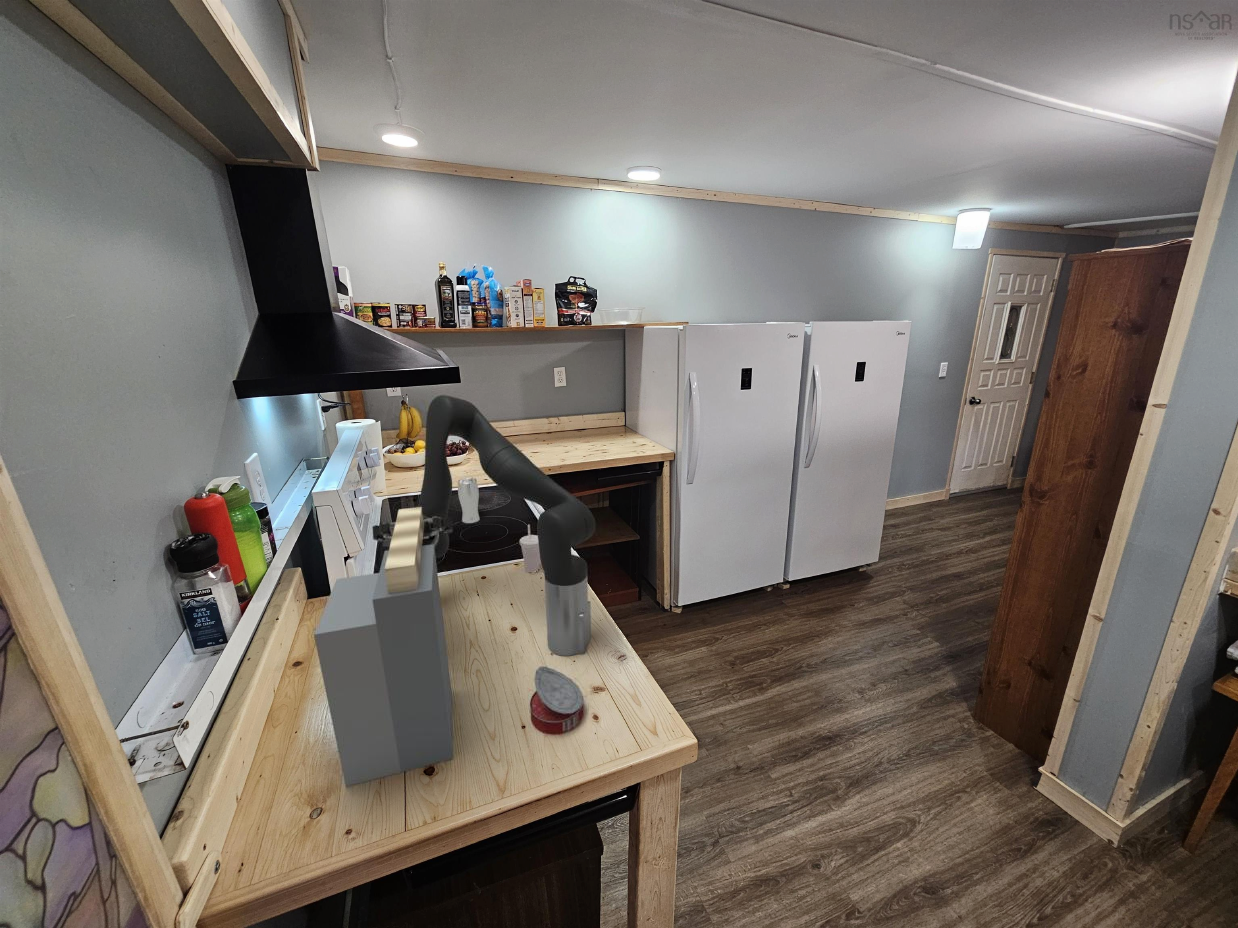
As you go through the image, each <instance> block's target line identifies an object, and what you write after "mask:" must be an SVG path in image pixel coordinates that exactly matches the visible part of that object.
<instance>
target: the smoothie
mask: <svg viewBox="0 0 1238 928" xmlns="http://www.w3.org/2000/svg"><path fill="white" fill-rule="evenodd" d="M527 534H528V535H524V536H523V537H521V538H520V539H519V545H520V546H521V547H520V548H521V552H522V556H523V557H522V558H523V562H524V566H525V567H524V568H525V571H526V572H527V573H528V572H535V571H537V570H538V569H539V570H540V564H541V561H540V552H539V543H538V534H537V535H535V534H531V525H530V524H528V525H527ZM537 572H538V571H537ZM535 573H536V572H535Z"/></svg>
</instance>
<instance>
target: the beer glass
mask: <svg viewBox="0 0 1238 928" xmlns="http://www.w3.org/2000/svg"><path fill="white" fill-rule="evenodd" d="M479 493H480V492H479V484H478V479H477V478H476V477H475V478H474V477H464V478H460V479H459V480H457V494H458V499H459V502H460V503H459V504H460V507H461V510H462V517H461V518H462V519H461V521H462V522H463V523H464V524H473V523H477V522H479V521H480V515H479V508H478V507H479V497H480V496H479Z"/></svg>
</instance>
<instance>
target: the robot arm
mask: <svg viewBox="0 0 1238 928" xmlns="http://www.w3.org/2000/svg"><path fill="white" fill-rule="evenodd" d="M425 419H426V421H425V422H426V424H425V443H424V445H425V446H424V470H423V472H424V473H423V480H422V484H421V490H420V494H419V495H420V496H419V501H418V505H417V507H422V514H423V522H424V531H423V541H422V546H426V545H433V544H434V548H435V557H436V559H437V558H438V559H440V558H442V557H444V556H445V554H446V553H447V552H448V549H449V546H450V537H449V534H451V533H453V529H454V528H453V522H452V521H453V520H452V519H453V518H452V516H448V514H449V507H450V503H451V498H452V493H453V478H452V473H451V469H450V467H449V463H448V458H447V457H448V456H447V445H448V444H447V443H448V440H449V437H450V436H454V437H457V438H461V439H462V440H464V441H466V443H468V444H469V445H470V446H471V447H472V448H474V449H475V451H476V452H477V454H478V459H479V463H480V466H481V469H482V470H483V472H484V474H485V475H487V477H488V478H489V479H490V480H491V481H492V482H493V483H494V484H495V485H496V486H497V487H498V488H499V489H501V490H502V491H503V492H505V493H507V494H510V495H513V496H515V497H518V498H521V499H524V500H527V501H529V502H532V503H535V504H537V505H538V506H540V507H542V508H544V509H545V510H543V511H542V513H540V515H539V517H538V519H537V523H536V525H537V526H536V530H537V531H536V532H537V536H538V543H539V552H540V565H541V566H542V570H543V575H544V594H545V595H544V596H545V612H546V613H545V615H546V617H545V618H546V634H547V635H546V636H547V637H546V638H547V647H548V650H550V651H551V652H552V653H553V654H556V655H559V656H564V657H567V656H574V655H578V654H582V655H583V654H586V651H587V648H588V646H589V643H590V641H591V638H592V614H591V613H592V612H591V610H592V609H591V607H592V604H591V600H590V601H589V600H588V599H589V598H588V597H589V596H588V595H589V593H588V590H589V589H588V588H589V587H588V564H587V561H586V560H585V559H584V558H583V557H581V556H578V555H576V554H572V548H574V547H575V546H577V545H579V544H581V543H583V542H585V541H588V540H589V539H590V538H591V537H592V536H593V535H594V534H595V533H596V532H595V531H596V520H595V517H594V515H593V513H592V511H591V510H590V509H589V508H588V507H587V506H586V504H584V502H582V501H581V500H580V499H578V498H577V497H576V496H575V495H573V494H571V492H569V491H568V490H566V489H565V488H564V487H562V486H561V485H559V484H558V483H557V482H555V481H554V480H553V479H552V478H551V477H550V476H548V475H547V474H546V473H545V472H544V471H542V470H541V469H540V468H539V467H538V466H537V465H535V463H534V462H533V461H532V460H531V459H529V458H528V456H527V455H525V454H524V453H523V452H522V451H521V450H520V449H519V448H518V447H517V446H515V444H513V443H512V442H511V441H510V440H508V439H507V438H506V437H505V436H504V435H503V434H502V433H501V432H500V431H498V430H497V429H496V428H495V427H493V425H492V424H491V423H490V421H488V419H487V418H486V417H485V416H484V415H483V414H482V412H481V411H480V410H479V409H478V407H476V405H474V404H473V403H472V402H470V401H468V400H465V399H462V398H458V397H456V396H455V397H454V396H451V395H447V394H440V395H437V396H436V397H434V398H433V399H432V400H431V402H430V403H429V406H428V409H427V413H426V418H425ZM395 523H396V521H395V522H394V521H393V522H391V523H389V522H388V521H383V522H382V523H381V524H378V525H377V524H376V525H372V540H375V541H377V542H379V543H380V542H381V543H384V542H386V541H388V539H391V540H392V536H393V532H394V528H395Z"/></svg>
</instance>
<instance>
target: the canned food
mask: <svg viewBox="0 0 1238 928" xmlns="http://www.w3.org/2000/svg"><path fill="white" fill-rule="evenodd" d="M534 674H535V676H534V686H535V692H533V694H532V696H531V698H530V700H529V709H530V710H529V711H530V722H531V724H532V726H533V727H534V729H536V730H537V731H538V732H540V733H543V734H546V735H549V736H550V735H554V736H557V735H558V736H559V735H564V734H566V733H568V732H572V730H574V729H575V728H576V727H578V725H580V723H581V722H582V719H583V717H584V696H583V692H582V691H581V690H580V687H579V685H578V684H576V682H574V680H573V679H571V678H570V677H568V676H567V675H565V674H564V673H562V672H559V671H558V670H556V669H554V668H550V667H548V666H540V667H538V668H537V669H536V670H535V673H534Z"/></svg>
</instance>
